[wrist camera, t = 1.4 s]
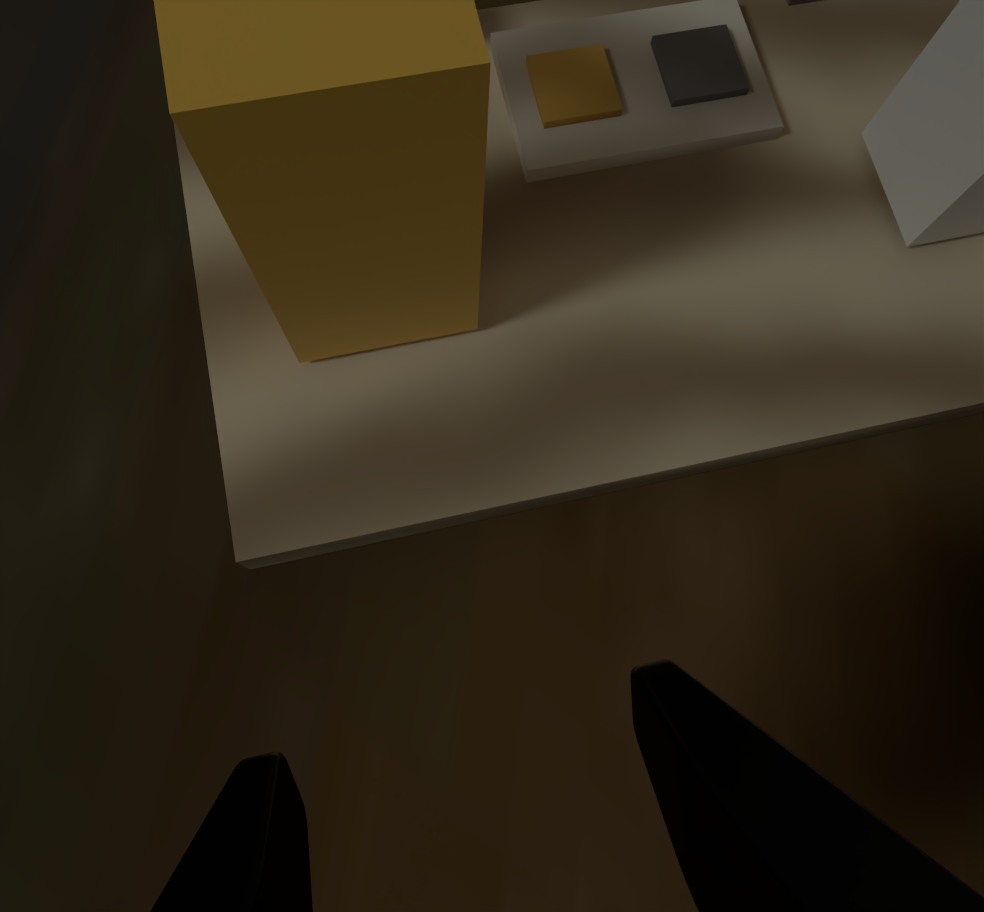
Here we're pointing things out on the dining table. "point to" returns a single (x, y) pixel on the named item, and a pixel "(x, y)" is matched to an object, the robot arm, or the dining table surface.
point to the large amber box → (341, 157)
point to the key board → (618, 283)
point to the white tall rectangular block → (936, 134)
